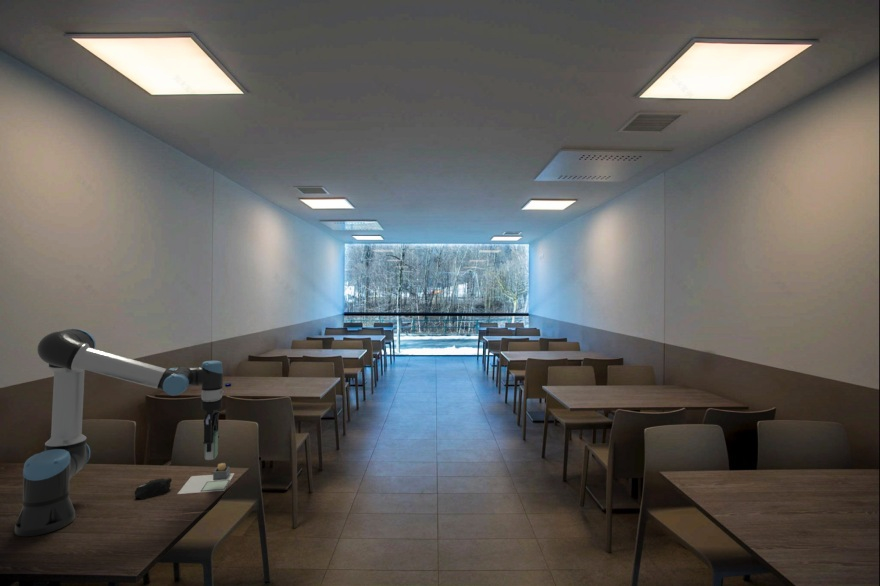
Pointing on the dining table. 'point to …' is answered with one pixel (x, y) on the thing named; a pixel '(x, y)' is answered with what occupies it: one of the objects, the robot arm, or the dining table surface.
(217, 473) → the button housing
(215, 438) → the green rectangular block
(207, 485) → the board
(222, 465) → the button
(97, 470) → the dining table surface
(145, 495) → the rock
